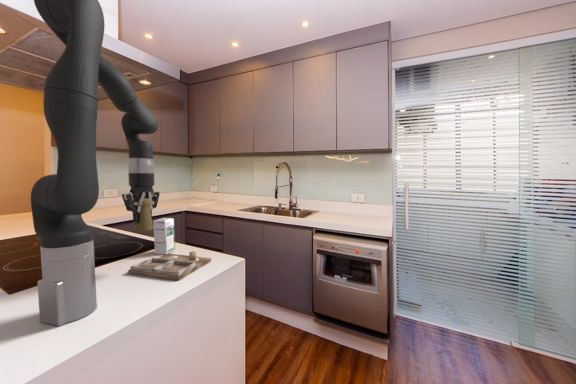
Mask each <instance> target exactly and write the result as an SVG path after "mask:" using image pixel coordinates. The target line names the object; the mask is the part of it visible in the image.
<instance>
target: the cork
mask: <svg viewBox="0 0 576 384" xmlns="http://www.w3.org/2000/svg"><path fill="white" fill-rule="evenodd" d="M138 202H139V201H134V203H138ZM150 206H151V200H150V199H148V198H144V200H143V201H142V205H141V206H140V207H141V211H140V212H141V217H140V223H139V224H136V223H134V222H133V227H132V231H133V232H137V233H140V232H143V233H144V232H148V231H152V230H153V231H154V226H153V218H152V219H151V213H150V208H149V207H150ZM135 207H136V208H137V205H135Z"/></svg>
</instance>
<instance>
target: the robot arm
mask: <svg viewBox="0 0 576 384" xmlns="http://www.w3.org/2000/svg"><path fill="white" fill-rule="evenodd" d="M33 3H34V5H35V8H36V11H37V12H38V14H39V15H40V17H41V18H42V21H44V23H45V24H46V25H47V26H48V27H49V30H51V31H52V32H53V33H54V35H55V36H56V37H57V38H58V39H59V40H60V41H61V42H62V43H63V44H64V45H65V48H64V50H63V52H62V54H61V55H60V56H59V58H58V59H57V60H56V62H55V63H54V64H53V66H52V67H51V69H50V70H49V72H48V74H47V76H46V78H45V81H44V85H43V104H42V105H43V115H44V119H45V121H46V124H47V126H48V128H49V130H50V133H51V136H52V137H53V139H54V141H55V145H56V148H57V149H56V150H57V167H56V168H57V169H56V173H53V174H47V175H44V176H42V177H40V178H39V179H38V180H37V181H36V182H35V183H34V184H33V186H32V188H31V191H30V205H31V206H30V207H31V208H30V209H31V214H32V223H33V228H34V232H35V234H36V236H37V238H38V239H39V245H40V247H39V248H40V263H41V278H42V279H38V281H37V297H38V310H39V313H38V315H39V322H40V323H45V324H49V325H52V326H55V327H56V326H57V327H60V326H62V325H64V324H67V323H70V322H74V321H78V320H80V319H82V318H85V317H86V316H89V315H90V314H92V313H93V312H94V311H95V310H97V308H98V304H97V302H98V301H97V285H96V284H97V283H96V281H97V280H96V279H97V278H96V265H95V263H96V262H95V246H94V245H95V243H94V230H93V229H92V227H91V226H90V225H89V224H87V223H86V222H85V220H84V219H83V217H82V215H83V214H86V213H88V212H90V211H91V210H92V209H93V208H94V207H95V206H96V205H97V203H98V200H99V194H100V187H99V184H100V183H99V175H98V166H97V165H98V163H97V121H98V104H99V103H98V102H99V100H98V99H99V98H98V90H99V89H98V88H99V87H98V85H99V86H100V87H101V88H102V89H103V91H104V93H105V95H106V96H107V97H108V98H109V100H110V102H111V103H112V104H113V106H114V107H115V108H116V109H117V110H118V111H120V112H122V113H124V114H123V115H122V116H121V122H120V123H121V128H122V131H123V133H124V135H125V137H124V138H125V140H126V143H127V146H128V167H127V169H128V170H127V171H128V172H127V173H128V176H127V177H128V186H129V187H130V189H129V192H127V193H122V194H121V197H122V200H123V203H124V206H125V209H126V211H128V212H131V213H132V221H133V224H134V223H136V224H139V223H140V217H141V212H140V211H141V207H140V206H141V205H142V201H143V200H144V198H148V199H150V200H151V206H150V207H149V208H150V213H151V219H152V220H153V210H154V209H156V208H157V206H158V202H159V199H160V198H159V197H160V194H161V193H160V192H159V191H155V190H154V189H153V188H154V186H155V163H154V153H153V152H154V151H153V150H154V148H153V144H152V143H151V142H149V141H146V140H142V139H141V137H140V135H152V134H155V133H156V132H157V131H158V130H159V122H158V119H157V117H156V115H155V114H154V113H153V111H151V109H150V108H148V106H146V104H144V102H143V101H142V100H141V99H140V98H139V97H138V95H137V93H136V92H135V90H134V88H133V87H132V85H131V83H130V81H129V80H128V79H127V77H125V75H124V74H123V73H122V72H121V71H120V70H119V69H118V68H116V67H115V66H114V65H113V64H112V63H111V62H109V61H108V60H107V59H106V58H105V57H104V56H102V55H101V54H102V53H101V52H102V47H103V40H104V35H105V25H106V24H105V16H104V11H103V9H102V6H101V4H100V2H99V0H33ZM134 201H139V202H138V203H134ZM135 205H137V208H136V207H135Z"/></svg>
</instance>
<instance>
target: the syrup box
mask: <svg viewBox="0 0 576 384" xmlns="http://www.w3.org/2000/svg"><path fill="white" fill-rule="evenodd" d="M174 219H175V218H174V217H162V218H159V219H156V220H155V219H154V220H152V225H153V243H154V254H155V255H162V254H168V253H169V254H171V253H173V252H175V251H176V240H175V239H176V238H175V220H174ZM174 250H175V251H174ZM172 251H173V252H172ZM170 252H171V253H170Z"/></svg>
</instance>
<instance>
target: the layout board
mask: <svg viewBox="0 0 576 384" xmlns="http://www.w3.org/2000/svg"><path fill="white" fill-rule="evenodd" d="M211 262H212V257H206V256H205V257H203V256H197V251H190V252H189V253H188V255H186V254H185V255H184V254H176V253H175V254H174V253H169V254H165V255H162V256H161V255H160V256H157V257H150V258H148V259H145V260H143V261H140V262H138V263H136V264H133V265H131V266H130V268H129V269H128V270H127V273H128V274H129V275H136V276H143V277H150V278H157V279H165V280H171V281H181V280H183V279H184V278H186V277H187V276H189V275H191V274H192V273H194V272H196V271H197V270H199V269H200V268H202V267H204V266H206V265H207V264H209V263H211Z"/></svg>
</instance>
